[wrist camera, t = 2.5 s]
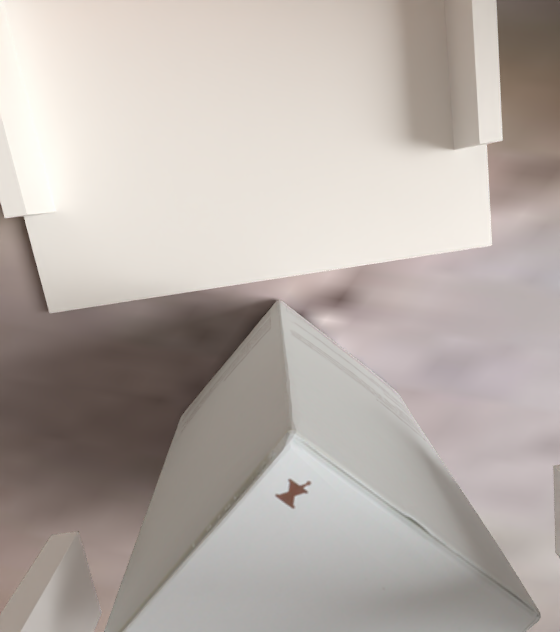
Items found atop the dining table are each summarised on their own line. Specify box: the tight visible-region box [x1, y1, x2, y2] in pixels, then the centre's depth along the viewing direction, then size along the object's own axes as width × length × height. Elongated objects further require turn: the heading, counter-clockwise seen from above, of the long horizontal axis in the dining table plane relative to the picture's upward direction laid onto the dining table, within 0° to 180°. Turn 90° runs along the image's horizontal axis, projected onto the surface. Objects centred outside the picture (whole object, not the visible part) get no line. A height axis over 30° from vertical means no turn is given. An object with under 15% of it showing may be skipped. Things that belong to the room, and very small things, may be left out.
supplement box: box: [104, 300, 540, 632], centre depth 17 cm, size 7×7×13 cm
